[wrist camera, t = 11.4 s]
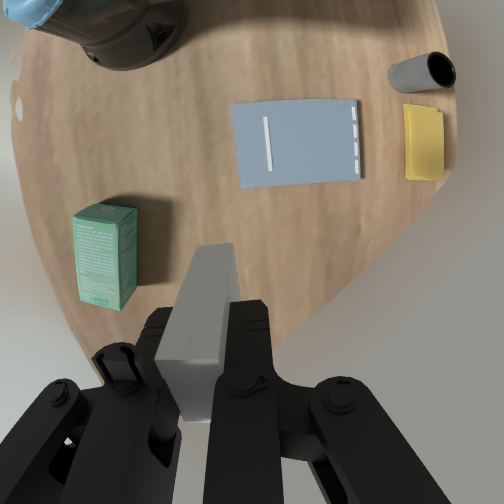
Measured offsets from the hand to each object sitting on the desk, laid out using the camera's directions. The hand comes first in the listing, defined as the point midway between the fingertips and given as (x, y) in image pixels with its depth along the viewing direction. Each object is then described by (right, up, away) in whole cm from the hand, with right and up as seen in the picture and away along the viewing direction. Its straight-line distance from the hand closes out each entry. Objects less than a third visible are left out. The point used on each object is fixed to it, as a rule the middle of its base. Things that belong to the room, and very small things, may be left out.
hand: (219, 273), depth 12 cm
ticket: (+7, +15, +22) cm, 28 cm away
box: (-19, +2, +28) cm, 34 cm away
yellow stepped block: (+26, +17, +21) cm, 37 cm away
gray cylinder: (+22, +25, +18) cm, 38 cm away
